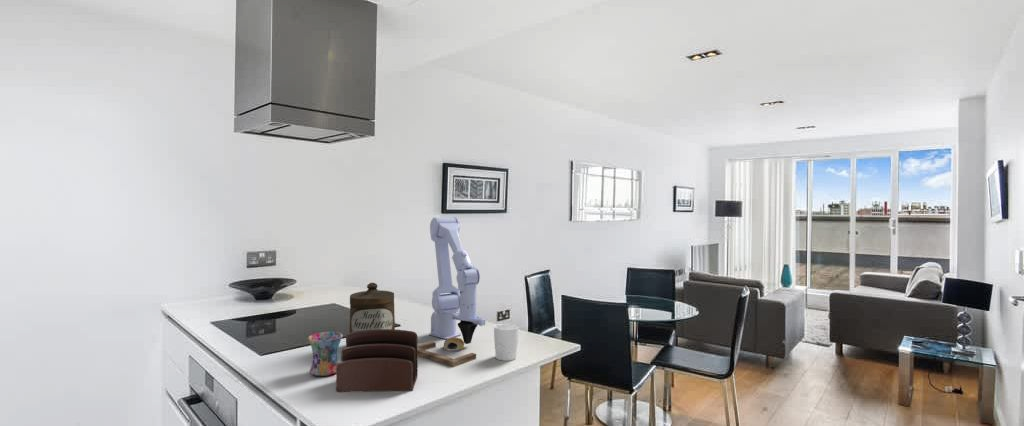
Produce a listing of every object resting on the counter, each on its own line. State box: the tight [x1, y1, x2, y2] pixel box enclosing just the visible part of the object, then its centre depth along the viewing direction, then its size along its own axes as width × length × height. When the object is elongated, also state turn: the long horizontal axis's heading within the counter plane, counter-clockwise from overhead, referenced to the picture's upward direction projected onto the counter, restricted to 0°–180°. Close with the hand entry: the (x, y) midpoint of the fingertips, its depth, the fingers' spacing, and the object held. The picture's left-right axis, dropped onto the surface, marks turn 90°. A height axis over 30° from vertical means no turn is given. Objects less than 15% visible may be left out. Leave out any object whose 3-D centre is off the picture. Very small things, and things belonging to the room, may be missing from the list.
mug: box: [307, 331, 344, 377], centre depth 137 cm, size 12×9×11 cm
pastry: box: [442, 336, 465, 352], centre depth 161 cm, size 9×7×4 cm
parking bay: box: [417, 341, 477, 368], centre depth 152 cm, size 21×10×2 cm, turn 51°
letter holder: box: [335, 328, 419, 393], centre depth 127 cm, size 10×20×14 cm, turn 94°
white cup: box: [493, 323, 520, 362], centre depth 150 cm, size 8×8×10 cm
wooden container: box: [349, 282, 396, 332], centre depth 160 cm, size 15×15×22 cm
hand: (467, 343), depth 161 cm, fingers closed
